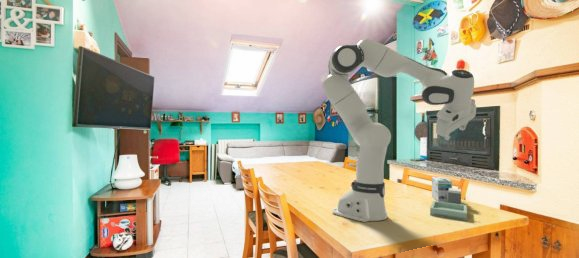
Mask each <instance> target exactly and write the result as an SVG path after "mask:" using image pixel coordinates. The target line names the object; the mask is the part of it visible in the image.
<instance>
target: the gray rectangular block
mask: <svg viewBox="0 0 579 258" xmlns="http://www.w3.org/2000/svg"><path fill="white" fill-rule="evenodd" d="M447 203H454V204H461V205H462V188H453V187H452V188H449V190H448V202H447Z"/></svg>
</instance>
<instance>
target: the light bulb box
mask: <svg viewBox="0 0 579 258" xmlns="http://www.w3.org/2000/svg"><path fill="white" fill-rule="evenodd" d="M449 188H453V180H450V179H449V178H447V177H443V176H441V177H440V176H431V197H432V198H433V199H434V200H435V201H438V202H446V203H448V190H449Z"/></svg>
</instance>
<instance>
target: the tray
mask: <svg viewBox="0 0 579 258" xmlns="http://www.w3.org/2000/svg"><path fill="white" fill-rule="evenodd" d="M467 210H468V209H467V205H466V204H462V203H461V204H454V203H448V202H438V201H437V200H432V202H431V205H430V208H429V215H430V216H433V217H441V218H447V219H453V220H459V221H460V220H461V221H465V222H466V221H467V220H468V218H467V217H468V216H467V215H468V212H467Z"/></svg>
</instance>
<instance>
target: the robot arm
mask: <svg viewBox="0 0 579 258" xmlns="http://www.w3.org/2000/svg"><path fill="white" fill-rule="evenodd" d="M358 67H364V68H366V69H368V70H369V71H371V72H373V73H374V74H376V75H378V76H380V77H383V78H390V77H394V76H395V75H397V74H398V73H403V74H406V75H407V76H410V77H412V78H414V79H417V80H418V81H419V82H420V83H421V87H422V88H421V99H422V101H423V102H425V103H426V104H428V105H432V106H441V105H443V107H442V108H440V110H439V111H438V112H437V113H436V118H437V120H436V123H435V132H436V134H437V135H438V136H440V137H442V138H444V140H446V141H449V140H451V138H452V137H451V135H450V134H451V133H452V132H454V131H456V130H458V129H459V130H460V131H465V130H466V128H467V125H468V124H469V122H470V121H471V120H473V119H474V118H475V117H476V114H477V105H476V100H475V99H474V98H472V96H473V94H474V90H475V78H474V75H473V73H471V72H470V71H468V70H464V69H455V70H452V71H451V72H449V73H447V72H446V71H445V70H443V69H441V68H437V67H436V68H435V67H430V66H428V65H425V64H423V63H421V62H418V61H417V60H415V59H412V58H410V57H408V56H405V55H403V54H401V53H398V52H397V51H395V50H393V49H391V48H390V47H388V46H387V45H385V44H383V43H380V42H378V41H375V40H374V39H370V38H363V39H362V40H360V41H359V42H358V43H357V44H345V45H344V44H343V45H341V46H338V47H337V48H336V49H334V51H333V52H332V53H331V55H330V57H329V60H328V73H329V75H327V76H326V77H325V79H323V81H322V89H323V91H324V94H325V96H326V97H327V99H328V101H329V102H330V104H331V106H332V107H333V108H334V110H335V112H336V113H337V114H338V115H339V117H340V119H341V120H342V121H343V123H344V125H345V127H346V128H347V131H348V133H349V134H350V136H351V138H352V140H353V141H354V143H355V144H356V145H357V146H359V151H358V157H357V160H356V164H355V165H356V167H355V168H356V169H355V171H356V173H355V175H356V176H355V177H356V178H355V179H354V180H353V181H352V182H351V183H350V187H351V189H350V190H348V191H347V192H345V193H344V194H343V195H342V196H340V197H339V199H338V203H337V205H336V206H335V207H333V208H332V214H334V215H337V216H340V217H343V218H348V219H351V220H355V221H359V222H363V223H365V222H366V223H367V222H376V221H383V220H386V219H388V213H387V209H386V205H385V204H386V203H385V195H386V186H385V181H384V177H385V176H384V171H385V170H384V169H385V159H386V155H387V151H388V146H389V144H390V142H391V139H392V134H391V131H390V129H389V128H388V127H387V126H385V125H384V124H382V123H381V122H376V121H375V122H373V121H372V119H371V117H370V115H369V112H368V110H367V107H366V104H365V103H364V101H363V100H362V99H361V96H360V95H359V94H358V92H357V91H356V90H355V89H354V87H353V86H352V85H351V83H350V80H349V75H350V74H351V73H352V72H353V71H354V70H355V69H357V68H358Z"/></svg>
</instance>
